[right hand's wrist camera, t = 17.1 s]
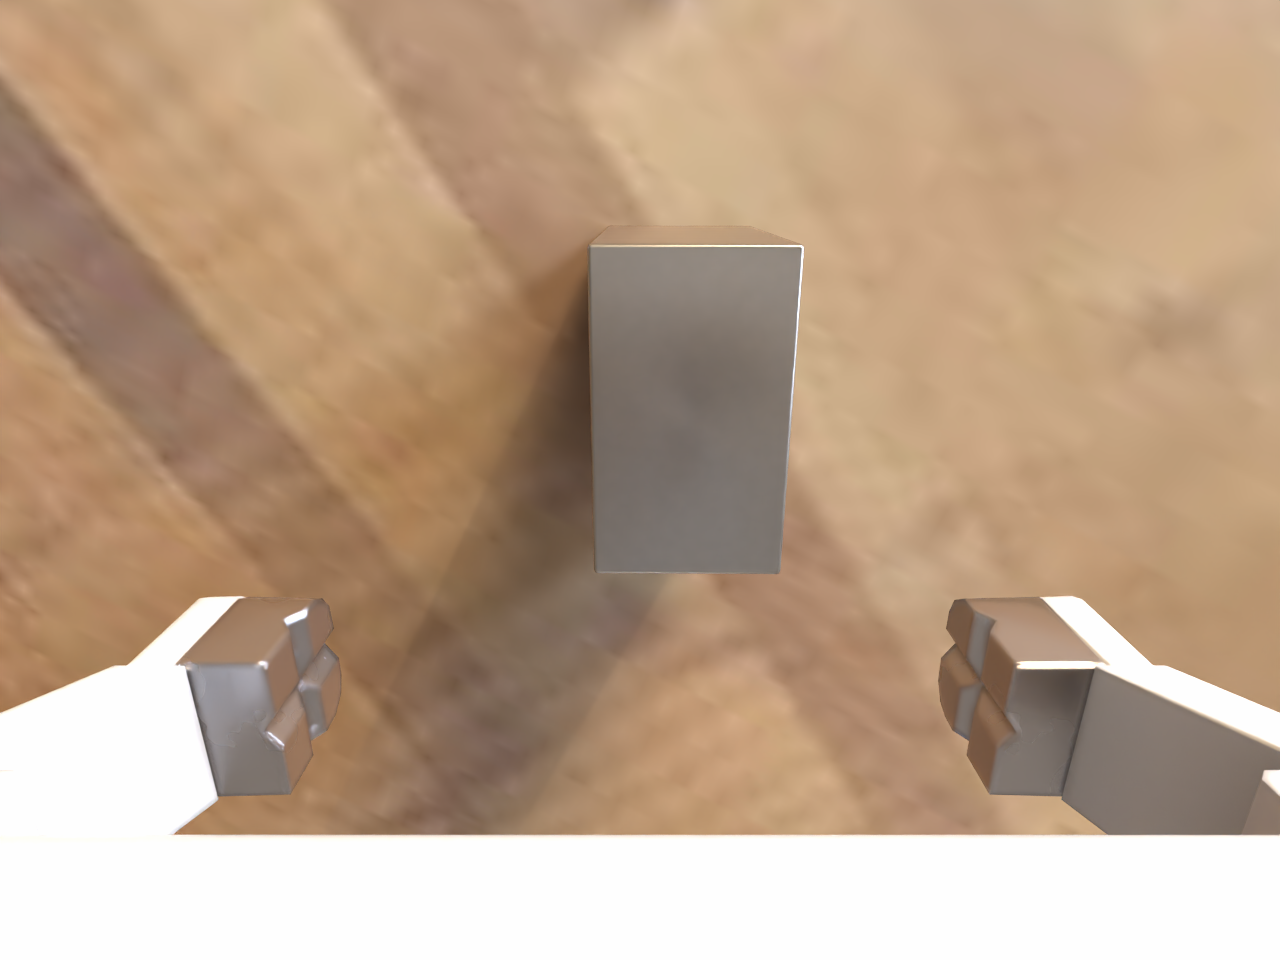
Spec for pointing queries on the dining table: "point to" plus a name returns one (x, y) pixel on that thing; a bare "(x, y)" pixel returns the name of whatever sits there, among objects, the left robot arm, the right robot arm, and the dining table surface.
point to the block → (691, 396)
